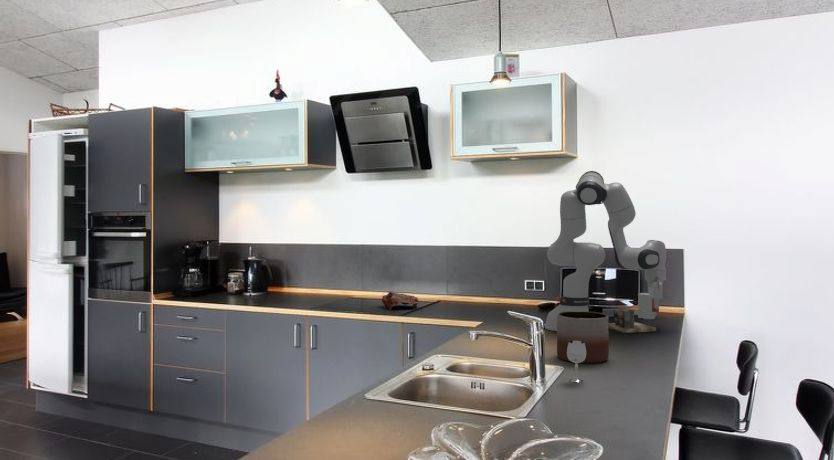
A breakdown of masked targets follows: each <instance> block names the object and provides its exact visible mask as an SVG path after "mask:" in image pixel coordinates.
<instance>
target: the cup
mask: <svg viewBox="0 0 834 460" xmlns="http://www.w3.org/2000/svg"><path fill="white" fill-rule="evenodd" d="M637 296H638V297H637V298H638V299H637V300H638V301H637V303H638V304H637V307H638V308H637V309H638V310H637V311H652V296H651V295H650V294H649V292H640V293H637ZM637 317H638V319H641V318H643V319H642V320H655V319H656V315H637Z"/></svg>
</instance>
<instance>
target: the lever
mask: <svg viewBox="0 0 834 460" xmlns="http://www.w3.org/2000/svg"><path fill="white" fill-rule="evenodd" d="M629 310H630V309H620V308H614V309H613V308H602V313H603V314H606V315H608V318H609V317H611V318H615V315H618V314H619V312H620V311H624V312H625V311H629ZM633 311H634V316H638V315H655V316H657V315H658V313H659V312H660V306H659V307H658V308H654V299H652V311H638V310H633Z"/></svg>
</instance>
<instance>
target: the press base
mask: <svg viewBox="0 0 834 460" xmlns="http://www.w3.org/2000/svg"><path fill="white" fill-rule="evenodd" d="M628 310H629V311H625V312H624V311H620V312H619V314H618V315H614V322H613V323H609V322H608V329H610V330H613V331H617V332H620V333H624V334H625V333H647V332H657V327H655V326H651V325H647V324H645V323H640V322H637V321H635V315H634V311H633V310H631V309H628Z"/></svg>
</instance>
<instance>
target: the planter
mask: <svg viewBox="0 0 834 460" xmlns="http://www.w3.org/2000/svg"><path fill="white" fill-rule="evenodd" d="M608 323H609V317H608V315H606V314H603V312H597V311H595V312H594V311H589V312H588V311H567V312H560V313H558V315H557V331H556V334H557V335H556V356H557V357H558V358H560V359H561V360H563V361H567V362H570V363H572V362H571V361H570V360H569V359H568V357H567V347H568V343H569V341H582V342H584V343H585V347H586V358H585V360H584V361H583V362H581V363H580V364H598V363H603V362H605V361H607V360H608V359H609V355H610V354H609V353H610V351H609V350H610V349H609V347H610V346H609V345H610V343H609V339H610V338H609V328H608Z"/></svg>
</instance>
